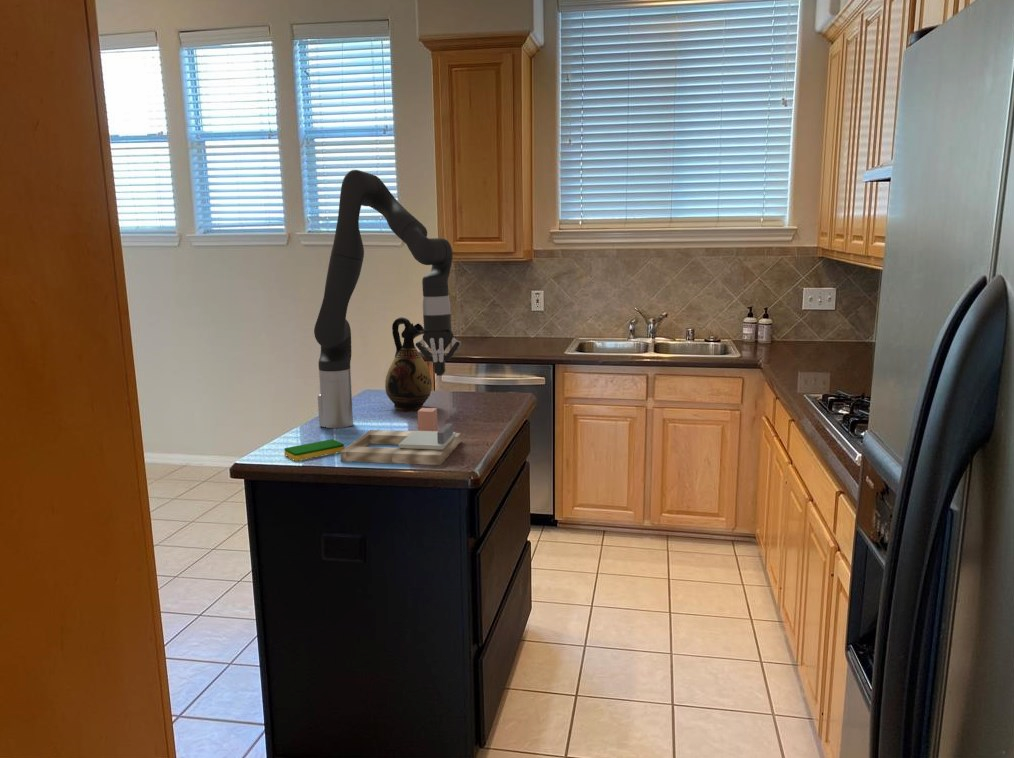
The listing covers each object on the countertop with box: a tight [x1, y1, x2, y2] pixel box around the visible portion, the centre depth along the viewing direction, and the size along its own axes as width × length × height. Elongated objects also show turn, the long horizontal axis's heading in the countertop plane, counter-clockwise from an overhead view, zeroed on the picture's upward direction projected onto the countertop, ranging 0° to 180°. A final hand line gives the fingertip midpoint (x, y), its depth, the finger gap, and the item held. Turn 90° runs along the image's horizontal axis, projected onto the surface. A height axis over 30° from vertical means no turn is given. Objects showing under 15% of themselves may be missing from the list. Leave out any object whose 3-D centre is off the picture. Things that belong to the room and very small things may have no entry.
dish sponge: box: [284, 438, 346, 461], centre depth 196 cm, size 7×14×2 cm, turn 130°
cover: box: [398, 422, 457, 450], centre depth 195 cm, size 12×14×4 cm
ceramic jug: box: [384, 317, 433, 412], centre depth 246 cm, size 17×15×30 cm
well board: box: [339, 429, 462, 466], centre depth 197 cm, size 26×22×2 cm
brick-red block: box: [417, 407, 439, 431], centre depth 215 cm, size 4×4×7 cm
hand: (440, 375), depth 207 cm, fingers closed
